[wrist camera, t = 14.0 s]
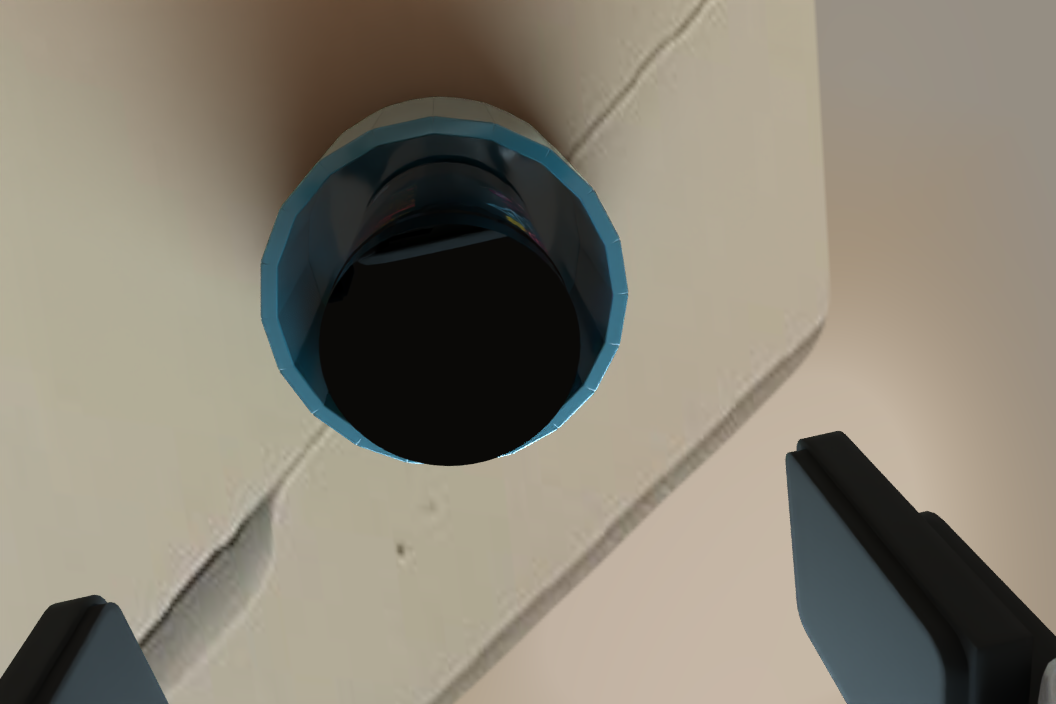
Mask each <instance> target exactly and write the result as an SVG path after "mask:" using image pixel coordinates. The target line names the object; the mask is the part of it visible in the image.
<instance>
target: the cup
mask: <svg viewBox="0 0 1056 704" xmlns="http://www.w3.org/2000/svg"><path fill="white" fill-rule="evenodd" d="M445 161H448V162H460V163H466V164H470V165H473V166H476V167H479V168H482V169H484V170H486V171H488V172H490V173H492V174H494V175H495V176H497V177H498V178H500V179H501V180H503V181H504V182H505V183H506V184H508V185H509V186H510V187H511V188H512V189H513V190H514V191H515V192H516V193H517V195H518V196H519V197H520V198H521V200H522V201H523V203H524V204H525V206H526V208H527V209H528V211H529V213H530V215H531V217H532V220H533V222H534V224H535V226H536V228H537V230H538V232H539V235H540V237H541V239H542V241H543V243H544V245H545V247H546V249H547V252H548V254H549V256H550V258H551V259H552V261H553V262H554V264H555V265H556V267H557V268H558V270H559V272H560V274H561V276H562V278H563V280H564V283H565V285H566V288H567V290H568V293H569V295H570V298H571V300H572V303H573V305H574V308H575V311H576V315H577V319H578V323H579V330H580V344H581V348H580V360H579V365H578V370H577V374H576V377H575V381H574V384H573V386H572V388H571V391H570V393H569V395H568V397H567V399H566V401H565V402H564V404H563V406H562V407H561V409H560V410H559V411H558V413H557V414H556V416H555V417H554V418H553V419H552V420H551V421H550V423H549V424H548V425H547V426H546V427H545V428H544V429H543V430H542V431H541V432H540V433H538V434H537V435H536V436H535V437H533V438H532V439H531V440H529V441H528V442H526V443H525V444H523V445H522V446H520V447H519V448H517V449H515V450H513V451H511V452H509V453H507V454H504V455H502V456H506V455H511V454H512V453H515V452H517V451H519V450H521V449H523V448H524V447H526V446H528V445H530V444H532V443H534V442H535V441H537V440H539V439H541V438H543V437H545V436H546V435H548V434H550V433H552V432H554V431H556V430H557V429H558V428H560V427H561V426H562V425H563V424H564V423H565V422H566V421H567V420H568V419H569V418H570V417H571V416H572V415H573V414H574V413H575V412H576V411H577V410H578V409H579V408H580V407H581V406H582V405H583V404H584V403H585V402H586V401H587V400H588V399H589V398H590V397H591V396H592V395H593V394H594V391H596V390H597V388H598V386H599V384H600V382H601V380H602V378H603V376H604V374H605V372H606V371H607V369H608V367H609V365H610V363H611V361H612V359H613V357H614V355H615V353H616V351H617V350H618V348H619V344H620V341H621V335H622V329H623V323H624V317H625V311H626V305H627V299H628V286H627V279H626V273H625V267H624V260H623V254H622V248H621V241H620V240H619V236H618V234H617V232H616V230H615V228H614V226H613V225H612V223H611V221H610V219H609V217H608V215H607V213H606V211H605V209H604V207H603V206H602V204H601V202H600V200H599V198H598V196H597V194H596V192H595V191H594V189H593V188H592V187H591V186H590V185H589V183H588V182H587V181H586V180H585V179H584V178H583V177H582V176H581V175H580V174H579V173H578V171H577V170H576V169H575V168H574V167H573V166H572V165H571V164H570V163H569V162H568V161H567V159H566V158H565V157H564V156H563V155H562V154H561V153H560V152H559V151H558V150H557V149H556V148H554V147H553V146H552V145H551V144H550V143H549V142H548V141H547V140H546V139H545V138H544V137H543V136H542V135H541V134H540V133H539V132H538V131H537V130H535V129H534V128H533V127H532V126H531V125H530V124H528V123H527V122H525V121H523V120H521V119H519V118H517V117H515V116H514V115H512V114H510V113H509V112H506V111H504V110H501V109H499V108H497V107H494V106H492V105H489V104H487V103H483V102H479V101H474V100H470V99H462V98H454V97H428V98H421V99H414V100H409V101H405V102H402V103H398V104H395V105H391V106H387V107H386V108H382V109H381V110H379V111H378V112H375V113H373V114H371V115H370V116H368V117H367V118H365V119H363V120H362V121H360V122H359V123H357V124H355V125H354V126H353V127H351V128H349V129H348V130H346V131H345V132H344V133H343V134H341V135H340V136H339V138H338V139H337V140H336V141H335V142H334V143H333V145H332V146H331V147H330V148H329V149H328V150H327V151H326V153H325V154H324V155H323V156H322V157H321V158H320V160H319V161H318V162H317V163H316V164H315V166H314V167H313V168H312V169H311V170H310V172H309V173H308V174H307V175H306V176H305V178H304V179H303V180H302V181H301V183H300V184H299V185H298V186H297V187H296V189H295V190H294V191H293V192H292V193H291V195H290V196H289V197H288V198H287V200H286V201H285V202H284V203H283V204H282V206H281V208H280V209H279V212H278V215H277V217H276V220H275V223H274V226H273V229H272V231H271V234H270V237H269V240H268V243H267V245H266V248H265V251H264V254H263V257H262V259H261V318H262V319H261V321H262V324H263V326H264V329H265V332H266V335H267V338H268V341H269V344H270V347H271V349H272V352H273V355H274V358H275V361H276V364H277V367H278V369H279V370H280V373H281V374H282V375H283V377H284V378H285V379H286V380H287V382H288V383H289V384H290V386H291V387H292V388H293V390H294V391H295V392H296V394H297V395H298V396H299V397H300V399H301V400H302V401H303V403H304V404H305V405H306V407H307V408H308V409H309V411H310V412H311V413H313V415H314V416H316V417H317V418H318V419H320V420H321V421H323V422H324V423H325V424H327V425H328V426H330V427H331V428H333V429H334V430H335V431H337V432H338V433H340V434H341V435H342V436H344V437H345V438H347V439H348V440H349V441H351V442H352V443H354V444H355V445H357V446H360V447H362V448H365V449H368V450H371V451H374V452H377V453H380V454H383V455H386V456H389V457H392V458H395V459H397V460H400V461H403V462H408V463H419V462H415V461H410V460H407V459H404V458H402V457H399V456H396V455H394V454H392V453H390V452H387V451H385V450H384V449H382V448H380V447H378V446H377V445H375V444H373V443H372V442H371V441H369V440H368V439H366V438H365V437H364V436H363V435H362V434H360V433H359V432H358V431H357V430H356V429H355V428H354V427H353V426H352V425H351V424H350V423H349V422H348V421H347V420H346V418H345V417H344V416H343V414H342V413H341V412H340V411H339V409H338V407H337V406H336V404H335V402H334V401H333V399H332V397H331V395H330V393H329V391H328V389H327V386H326V383H325V380H324V377H323V373H322V369H321V364H320V356H319V335H320V326H321V322H322V318H323V313H324V310H325V308H326V305H327V302H328V299H329V295H330V292H331V289H332V286H333V284H334V281H335V279H336V277H337V275H338V273H339V271H340V269H341V268H342V266H343V265H344V262H345V260H346V257H347V255H348V252H349V250H350V247H351V244H352V242H353V239H354V237H355V234H356V232H357V229H358V227H359V224H360V221H361V219H362V216H363V214H364V212H365V210H366V208H367V206H368V205H369V203H370V201H371V200H372V198H373V197H374V196H375V195H376V193H377V192H378V191H379V190H380V189H381V188H382V187H383V186H384V185H385V184H386V183H388V182H389V181H390V180H391V179H393V178H394V177H396V176H397V175H399V174H400V173H402V172H404V171H406V170H408V169H411V168H413V167H416V166H419V165H423V164H427V163H433V162H445ZM502 456H500V457H502ZM419 464H423V463H419Z"/></svg>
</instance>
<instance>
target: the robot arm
mask: <svg viewBox="0 0 1056 704" xmlns="http://www.w3.org/2000/svg"><path fill="white" fill-rule="evenodd" d="M786 474H787V487H788V498H789V499H788V500H789V511H790V524H791V537H792V549H793V562H794V574H795V587H796V599H797V607H798V612H799V616H800V619H801V622H802V625H803V627H804V629H805V631H806V633H807V635H808V637H809V638H810V640H811V642H812V644H813V645H814V647H815V649H816V650H817V652H818V654H819V656H820V657H821V659H822V661H823V663H824V665H825V666H826V668H827V670H828V671H829V673H830V675H831V677H832V678H833V680H834V682H835V683H836V685H837V687H838V689H839V691H840V692H841V694H842V696H843V698H844V699H845V701H846V703H847V704H1056V636H1055V635H1054V634H1053V633H1052V632H1051V631H1050V630H1049V629H1048V628H1047V627H1046V626H1045V625H1044V624H1043V623H1042V622H1041V620H1040V619H1039V618H1038V617H1037V616H1036V615H1035V614H1034V613H1033V612H1032V611H1031V610H1030V609H1029V608H1028V607H1027V606H1026V605H1025V604H1024V603H1023V602H1022V601H1021V600H1020V599H1019V598H1018V597H1017V596H1016V595H1015V594H1014V593H1013V592H1012V591H1011V589H1009V587H1008V586H1007V585H1006V584H1005V583H1004V582H1003V581H1002V580H1001V579H1000V578H999V577H998V576H997V575H996V574H995V573H994V572H993V571H992V570H991V569H990V568H989V567H988V566H987V565H986V564H985V563H984V562H983V561H982V560H981V558H979V556H977V554H976V553H975V552H974V551H973V550H972V549H971V548H970V547H969V546H968V545H967V544H966V543H965V542H964V541H963V540H962V539H961V538H960V537H959V536H958V535H957V534H956V533H955V532H954V531H953V530H952V529H951V528H950V526H949V525H948V524H947V523H946V522H945V521H944V520H943V519H941V518H940V517H939V516H938V515H936V514H935V513H932V512H929V511H925V512H921V513H918V512H917V511H916V510H915V508H914V507H913V506H912V505H911V504H910V503H909V502H908V501H907V500H906V499H905V498H904V497H903V496H902V494H901V493H900V492H899V491H898V490H897V489H896V488H895V487H894V486H893V485H892V484H891V483H890V482H889V481H888V480H887V478H886V477H885V476H884V475H883V474H882V473H881V472H880V471H879V470H878V469H877V468H876V467H875V466H874V464H872V462H870V460H869V459H868V458H867V457H866V456H865V455H864V454H863V453H862V452H861V451H860V450H859V448H858V447H857V446H856V445H855V444H854V443H853V442H852V441H851V440H850V439H849V438H848V437H847V436H846V434H844V433H843V432H841V431H835V432H831V433H826V434H822V435H818V436H813V437H808V438H804V439H800V440H799V441H798V443H797V451H794V452H789V453H787V454H786ZM0 704H168V702H167V700H166V698H165V696H164V694H163V692H162V690H161V688H160V686H159V684H158V682H157V680H156V678H155V676H154V674H153V672H152V670H151V668H150V666H149V664H148V662H147V660H146V658H145V656H144V654H143V652H142V650H141V648H140V646H139V644H138V642H137V641H136V639H135V637H134V635H133V633H132V631H131V629H130V627H129V625H128V623H127V621H126V619H125V617H124V615H123V613H122V611H121V609H120V608H119V606H118V605H116V604H115V603H112V602H109V603H107V602H106V601H105V599H103V598H102V597H101V596H98V595H91V596H87V597H82V598H78V599H73V600H69V601H64V602H60V603H55V604H53V605H51V606H49V608H48V609H47V610H46V611H45V612H44V614H43V615H42V617H41V618H40V620H39V621H38V623H37V624H36V626H35V627H34V629H33V630H32V632H31V633H30V635H29V636H28V638H27V639H26V641H25V642H24V644H23V645H22V647H21V648H20V650H19V651H18V653H17V654H16V656H15V657H14V659H13V660H12V662H11V664H10V665H9V667H8V668H7V670H6V671H5V673H4V674H3V676H2V677H1V679H0Z"/></svg>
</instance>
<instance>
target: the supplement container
mask: <svg viewBox="0 0 1056 704" xmlns="http://www.w3.org/2000/svg"><path fill="white" fill-rule="evenodd" d="M580 348H581V344H580V330H579V323H578V319H577V315H576V311H575V308H574V305H573V303H572V300H571V298H570V295H569V293H568V290H567V288H566V285H565V283H564V280H563V278H562V276H561V274H560V272H559V270H558V268H557V267H556V265H555V264H554V262H553V261H552V259H551V258H550V256H549V254H548V252H547V249H546V247H545V245H544V243H543V241H542V239H541V237H540V235H539V232H538V230H537V228H536V226H535V224H534V222H533V220H532V217H531V215H530V213H529V211H528V209H527V208H526V206H525V204H524V203H523V201H522V200H521V198H520V197H519V196H518V195H517V193H516V192H515V191H514V190H513V189H512V188H511V187H510V186H509V185H508V184H506V183H505V182H504V181H503V180H501V179H500V178H498V177H497V176H495V175H494V174H492V173H490V172H488V171H486V170H484V169H482V168H479V167H476V166H473V165H470V164H466V163H460V162H448V161H445V162H433V163H427V164H423V165H419V166H416V167H413V168H411V169H408V170H406V171H404V172H402V173H400V174H399V175H397V176H396V177H394V178H393V179H391V180H390V181H389V182H388V183H386V184H385V185H384V186H383V187H382V188H381V189H380V190H379V191H378V192H377V193H376V195H375V196H374V197H373V198H372V200H371V201H370V203H369V205H368V206H367V208H366V210H365V212H364V214H363V216H362V219H361V221H360V224H359V227H358V229H357V232H356V234H355V237H354V239H353V242H352V244H351V247H350V250H349V252H348V255H347V257H346V260H345V262H344V265H343V266H342V268H341V269H340V271H339V273H338V275H337V277H336V279H335V281H334V284H333V286H332V289H331V292H330V295H329V299H328V302H327V305H326V308H325V310H324V313H323V318H322V322H321V326H320V335H319V356H320V364H321V369H322V373H323V377H324V380H325V383H326V386H327V389H328V391H329V393H330V395H331V397H332V399H333V401H334V402H335V404H336V406H337V407H338V409H339V411H340V412H341V413H342V414H343V416H344V417H345V418H346V420H347V421H348V422H349V423H350V424H351V425H352V426H353V427H354V428H355V429H356V430H357V431H358V432H359V433H360V434H362V435H363V436H364V437H365V438H366V439H368V440H369V441H371V442H372V443H373V444H375V445H377V446H378V447H380V448H382V449H384V450H385V451H387V452H390V453H392V454H394V455H396V456H399V457H402V458H404V459H407V460H410V461H415V462H419V463H423V464H430V465H440V466H460V465H468V464H475V463H479V462H484V461H488V460H491V459H494V458H497V457H500V456H502V455H504V454H507V453H509V452H511V451H513V450H515V449H517V448H519V447H520V446H522V445H523V444H525V443H526V442H528V441H529V440H531V439H532V438H533V437H535V436H536V435H537V434H538V433H540V432H541V431H542V430H543V429H544V428H545V427H546V426H547V425H548V424H549V423H550V421H551V420H552V419H553V418H554V417H555V416H556V414H557V413H558V411H559V410H560V409H561V407H562V406H563V404H564V402H565V401H566V399H567V397H568V395H569V393H570V391H571V388H572V386H573V384H574V381H575V377H576V374H577V370H578V365H579V360H580Z"/></svg>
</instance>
